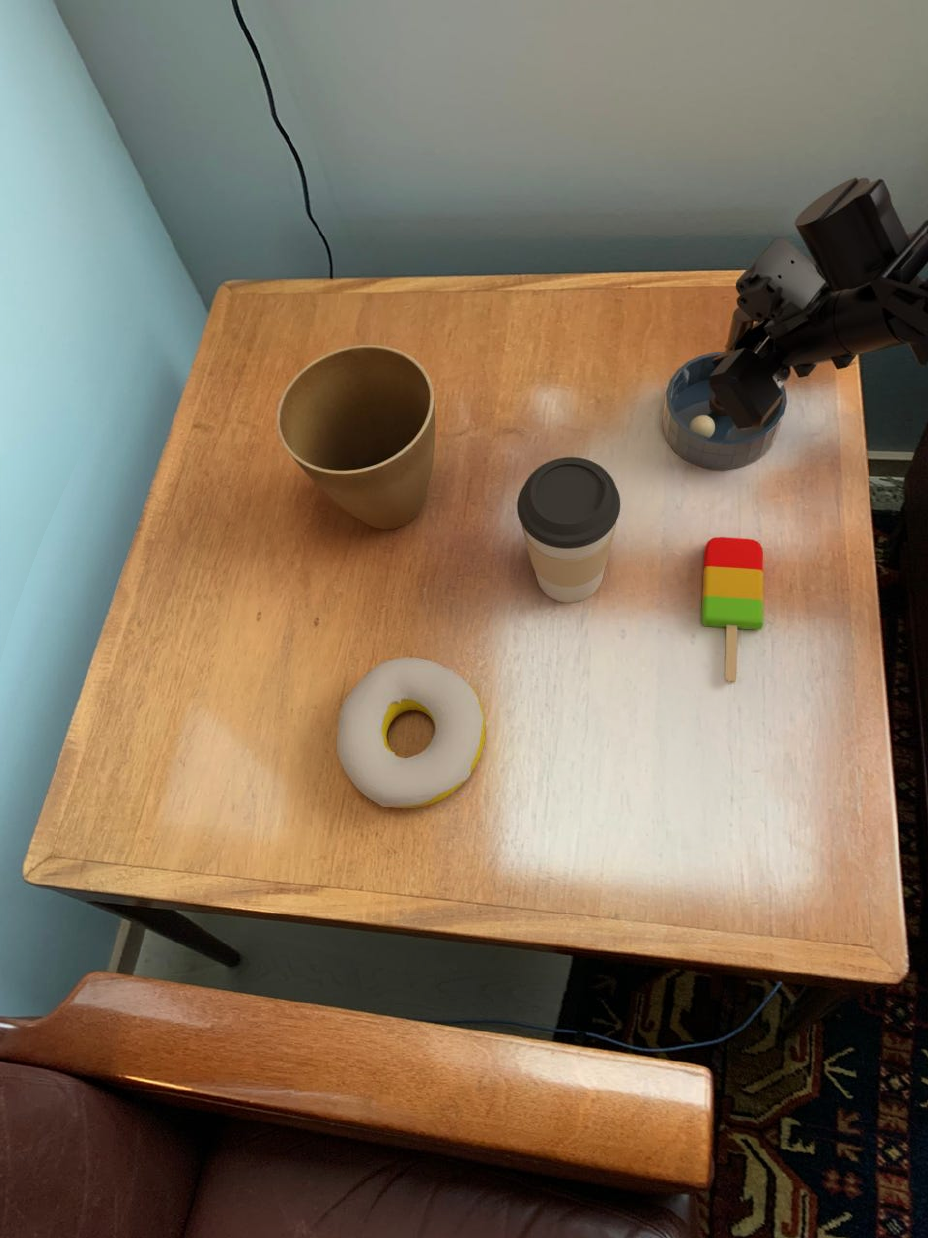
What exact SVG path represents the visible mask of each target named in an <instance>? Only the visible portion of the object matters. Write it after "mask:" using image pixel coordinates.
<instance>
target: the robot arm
mask: <svg viewBox="0 0 928 1238" xmlns="http://www.w3.org/2000/svg"><path fill="white" fill-rule="evenodd" d="M892 202H893V201H892V197H891V193H890V191H889V188H888V187H887V185H886V183H885V181H884V179H882V178H877V179H876V180H873V181H870V179H869V178H868V177H861V178H857V176H855V177H853V178H850V179H848V180H846V181H844V182H842V183H840V184H838V185H836V186H835V187H833V188H831V189H829V190H828V191H826V192H825V193H824V194H822V195H821V196H819V197H818V198H816V199H815V200H814V201H812V202H811V203H810V204H809V205H808V206H806V207H805V209H803V210H802V211H801V213H799V214H798V216H797V217H796V218H795V220H794V225H795V228H796V230H797V231H798V233H799V235H800V237H801V239H802V241H803V242H804V244H805V246H806V248H807V250H808V252H809V254H810V255H811V256H810V257H809V258H808V257H806V256H805V254H803V253H802V252H801V251H800V250H799V249H798V248H797V247H796V246H795V245H794V244H793V242H791V241H789V240H788V239H787V238H786V237H781V236H780V237H776V238H775V239H773V241H771V242H770V243H769V245H768V246H767V247H766V248H765V249H764V250H763V251H762V252H761V253H760V254H759V255H758V257H756V259H755V260H753V261H752V263H751V264H750V265H749V266H748V268H747V269H746V270H745V271H744V272H743V273H742V274H741V276H740V277H739V278H737V280H736V282H735V290H736V292H737V293H738V294H739V295H738V297H737V298H736V306H737V308H738V307H740V308H741V309H742V310H743V311H744V312H745V313H746V314H747V315H748V316H749V317H750V318H751V319H752V320H753V321H754V324H753V328H752V330H751V329H750V328H748V329H747V331H746V332H745V333H744V334H743V335H742V337H741V338H740V339H739V340H738V341H737V342H736V344H735V345H734V347H733V349H732V350H729V351H727V352H725V351H724V352H725V353H723V354H721V355H719V356H718V357H716V358H714V359H713V361H712V362H713V364H714V365H715V367H716V369H715V370H714V371H713V373H712V374H711V375H710V376H709V386H710V388H711V389H712V391H713V392H714V394H715V395H716V397H717V398H718V400H719V401H720V403H721V404H722V406H723V407H724V409H725V410H726V412H727V413H728V415H729V416H730V418H731V420H732V421H733V423H734V424H735V426H736V427H737V429H741V430H746V429H752V428H759V427H760V426H761V425H762V424H763V423H764V421H765V420H766V419H767V418H768V416H769V415H770V414H771V413H772V411H773V410H774V409H775V408H776V406H777V405H778V404H779V403H780V400H781V396H782V392H781V390H780V388H781V387H782V386H783V385H784V384H785V383H786V382H787V381H788V380H789V379H790V377H791V374H792V370H791V367H792V369H793V370H794V372H795V374H796V375H797V377H798V378H799V379H801V378H804V377H805V378H806V377H808V376H809V375H811V373H812V372H813V371H814V370H815V368H816V367H817V366H818V365H820V364H824V363H829V362H832V363H833V365H834V367H835V369H836V370H842V369H846V368H848V367H849V366H850V364H851V363H852V362H853V361H854V359H855V358H856V357H857V356H858V355H863V354H868V353H873V352H876V351H881V350H885V349H889V348H894V347H898V346H902V345H906V344H907V345H908V346H909V347H910V349H911V351H912V353H913V355H914V357H915V359H916V361H917V363H918V365H920V366H923V367H924V366H927V365H928V277H926V279H922V278H921V277H920V275H919V274H920V273H921V272H922V270H923V269H924V268H925V267H926V266H927V264H928V219H926V220H924V221H923V222H922V223H921V224H920V225H919V226H918V228H917V229H915V231H914V232H911V233H908V234H907V232H906V230H905V227H904V226H903V223H902V221H901V219H900V217H899V216H898V213H897V211H896V209H895V206H894V205H893V203H892ZM726 345H727V343H726V344H725V346H724V348H726Z"/></svg>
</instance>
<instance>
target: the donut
mask: <svg viewBox="0 0 928 1238" xmlns="http://www.w3.org/2000/svg"><path fill="white" fill-rule="evenodd" d="M407 711H418V712H419V711H420V712H422V713H424V714H426V715H427V716H428V717H429V718H430V719H431V720H432V722H433V725H434V729H435V730H434V735H433V738H432V739H431V742H430V743H429V745H428V746H427V747H425V749H423V751H421V752H420V753H417V754H415V755H412V756H408V757H402V756H400V755H397V754H396V752H395V751H393V750H392V749H391V747H390V746H389V743H388V738H387V736H388V730H389V727H390V725H391V723H392V722H393V721H394V719H396V718H397V716H399V715H401V714H402V713H404V712H407ZM337 722H338V723H337V739H336V752H337V756H338V760H339V762H340V764H341V767H342V768H343V770H344V772H345V774H346V776H347V777H348V778H349V780H350V781H351V783H352V784H353V785H354V787H355V788H356V789H357V790H358V791H359V792H360V793H361V794H362V795H364V796H365V797H367V798H368V799H369V800H371V801H373V802H374V803H376V804H378V805H379V806H381V807H383V808H397V809H416V808H423V807H427V806H431V805H433V804H437V803H439V802H440V801H442V800H444V799H446V798H447V797H450V795H452V794H453V793H454V792H456V791H457V790H458V789H459V788H460V787H461V786H462V785H463V784H464V783H465V782H466V781H467V780H468V779H469V778H470V777H471V774H472V772H473V771H474V770H475V768H476V766H477V764H478V763H479V760H480V758H481V756H482V753H483V750H484V746H485V743H486V741H485V740H486V726H487V725H486V717H485V711H484V707H483V704H482V701H481V699H480V697H479V695H478V693H477V692H476V689H475V688H474V687H473V686H472V685H471V683H469V682H468V681H467V680H466V679H465V678H464V677H462V676H460V675H459V674H458V673H456V672H455V671H454V670H452V669H451V668H448V667H446V666H444V665H442V664H440V663H438V662H435V661H433V660H431V659H426V658H420V657H407V656H404V657H403V656H402V657H396V658H392V659H389V660H385V661H383V662H381V663H379V664H377V665H376V666H374V667H372V669H370V670H369V671H368V672H367V673H365V675H364V676H363V677H362V678H361V679H360V680H359V681H358V683H357V684H356V685H355V686H354V687H353V688H352V689H351V690H350V692H349V694H348V696H347V697H346V699H345V700H344V702H343V705H342V707H341V709H340V712H339V717H338V721H337Z"/></svg>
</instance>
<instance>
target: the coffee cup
mask: <svg viewBox="0 0 928 1238" xmlns="http://www.w3.org/2000/svg"><path fill="white" fill-rule="evenodd" d="M516 510H517V517H518V519H519V521H520V524H521V530H522V534H523V538H524V541H525V544H526V548H527V552H528V554H529V559H530V562H531V565H532V567H533V569H534V572H535V576H536V580H537V583H538V585H539V587H540V589H541V591H542V592H543V593H545V595H547V596H548V597H549V598H550V599H553V600H554V601H557V602H560V603H569V604H571V603H572V604H573V603H578V602H582V601H584V600H586V599H588V598H590V597H591V596H592V595H594V594H595V593H596V592H597V590H598V589H599V588H600V587H601V584H602V582H603V578H604V575H605V570H606V569H605V568H606V565H607V564H608V560H609V556H610V553H611V552H610V551H611V549H612V548H611V547H612V545H613V540H614V536H615V531H616V527H617V521H618V518H619V515H620V512H621V497H620V493H619V489H618V488H617V486H616V483H615V481H614V479H613V478H612V476H611V474H610V473H609V472H608V471H607V470H606V469H605V468H604V467H603V466H601V465H600V464H598V463H596V462H594V461H592V460H589V459H586V458H582V457H575V456H566V457H560V458H556V459H552V460H549V461H548V462H545V463H543V464H542V465H540V466H539V467H537V468H536V469H534V471H533V472H532V473H531V474H530V475H529V476H528V477H527V479H526V481H525V482H524V484H523V486H522V487H521V489H520V491H519V494H518V497H517V502H516Z"/></svg>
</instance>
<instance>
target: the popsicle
mask: <svg viewBox="0 0 928 1238" xmlns="http://www.w3.org/2000/svg"><path fill="white" fill-rule="evenodd" d="M702 570H703V571H702V576H703V577H702V597H701V599H702V602H701V624H702V625H703V626H706V627H717V628H719V627H720V628H725V670H724V671H725V672H724V673H725V674H724V677H725V681H726V682H729V683H734V682H736V680H737V677H738V675H737V674H738V672H737V669H738V629H745V630H746V629H747V630H757V631H761V630H762V629H763V626H764V552H763V547H762V544H761V543H760V542H759V541H757V540H755V539H751V538H739V537H726V536H725V537H724V536H719V537H718V536H717V537H713V538H711V539H709V540H707V543H706V544H705V546H704V551H703V569H702Z"/></svg>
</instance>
